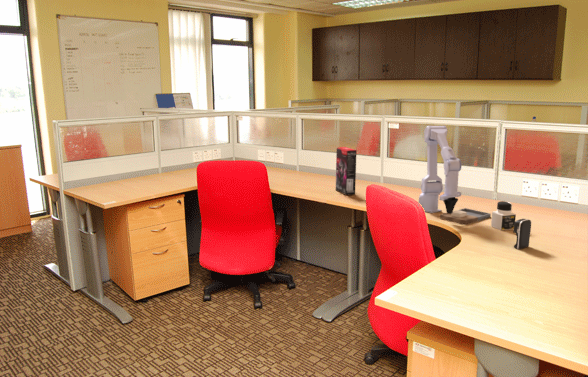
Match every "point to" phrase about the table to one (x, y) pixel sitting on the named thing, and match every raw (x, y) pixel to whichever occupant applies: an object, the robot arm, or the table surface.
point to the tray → (476, 213)
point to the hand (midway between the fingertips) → (449, 213)
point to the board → (463, 220)
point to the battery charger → (522, 233)
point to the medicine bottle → (503, 216)
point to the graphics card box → (346, 170)
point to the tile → (459, 213)
